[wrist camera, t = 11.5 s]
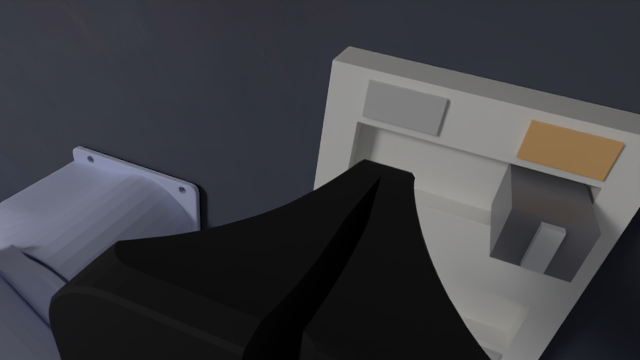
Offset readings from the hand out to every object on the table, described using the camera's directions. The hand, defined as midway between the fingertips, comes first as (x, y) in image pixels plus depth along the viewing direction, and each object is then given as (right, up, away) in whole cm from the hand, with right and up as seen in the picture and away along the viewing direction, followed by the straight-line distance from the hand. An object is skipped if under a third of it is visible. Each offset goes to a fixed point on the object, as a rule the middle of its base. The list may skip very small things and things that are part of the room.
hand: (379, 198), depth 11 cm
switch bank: (+5, -1, +12) cm, 13 cm away
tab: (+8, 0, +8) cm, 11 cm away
